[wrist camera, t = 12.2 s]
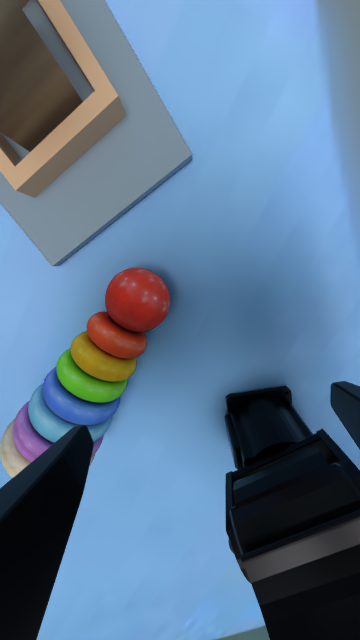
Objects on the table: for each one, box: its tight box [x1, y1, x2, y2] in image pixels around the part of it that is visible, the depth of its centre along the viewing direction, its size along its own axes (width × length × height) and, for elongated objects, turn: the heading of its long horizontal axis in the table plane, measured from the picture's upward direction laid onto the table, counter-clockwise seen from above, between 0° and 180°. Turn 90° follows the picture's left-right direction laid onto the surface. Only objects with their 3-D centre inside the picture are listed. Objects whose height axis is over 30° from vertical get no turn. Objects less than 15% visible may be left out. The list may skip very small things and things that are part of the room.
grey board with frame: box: [0, 0, 192, 266], centre depth 14 cm, size 18×14×3 cm
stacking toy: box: [0, 268, 170, 477], centre depth 19 cm, size 8×8×19 cm
